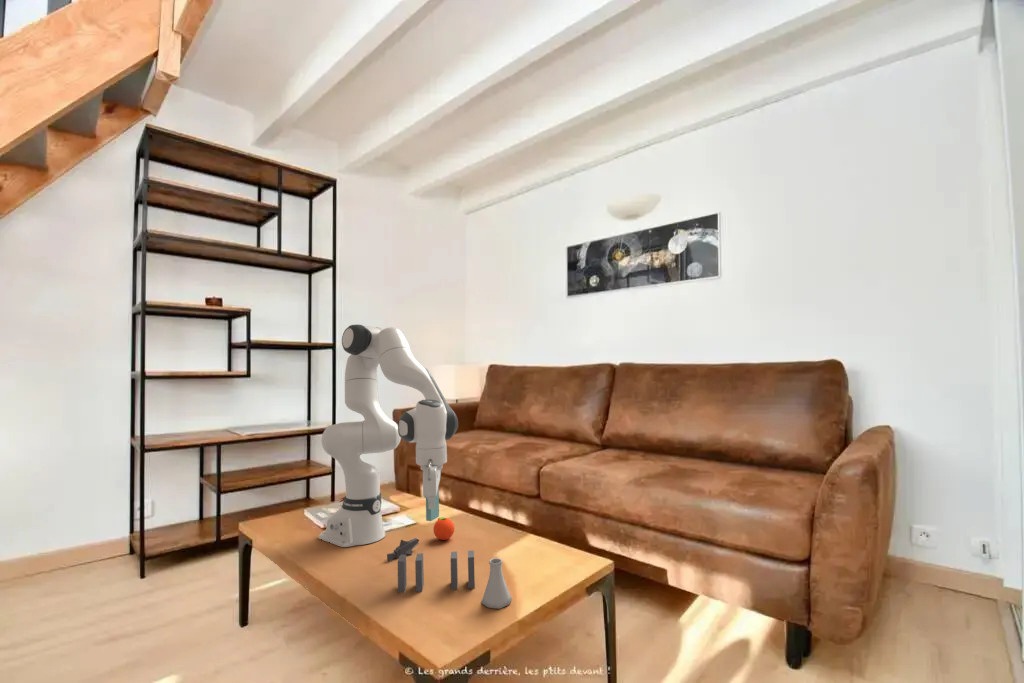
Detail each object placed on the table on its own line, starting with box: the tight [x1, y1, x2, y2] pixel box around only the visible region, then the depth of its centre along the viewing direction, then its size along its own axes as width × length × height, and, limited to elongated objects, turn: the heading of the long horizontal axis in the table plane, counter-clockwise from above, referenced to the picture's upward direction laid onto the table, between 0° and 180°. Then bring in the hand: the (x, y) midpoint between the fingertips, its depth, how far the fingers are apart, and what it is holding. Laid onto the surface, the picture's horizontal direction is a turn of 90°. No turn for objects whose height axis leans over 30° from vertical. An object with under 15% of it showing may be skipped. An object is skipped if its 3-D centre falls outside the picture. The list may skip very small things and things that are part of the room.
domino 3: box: [425, 487, 440, 522], centre depth 138 cm, size 2×4×8 cm, turn 158°
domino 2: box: [414, 552, 425, 593], centre depth 127 cm, size 2×4×8 cm, turn 5°
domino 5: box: [467, 549, 476, 590], centre depth 128 cm, size 2×4×8 cm, turn 5°
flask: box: [480, 557, 513, 609], centre depth 119 cm, size 7×7×10 cm
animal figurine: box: [386, 537, 420, 562], centre depth 148 cm, size 12×4×5 cm, turn 140°
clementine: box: [433, 516, 456, 541], centre depth 160 cm, size 8×7×7 cm
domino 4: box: [450, 551, 459, 591], centre depth 127 cm, size 2×4×8 cm, turn 5°
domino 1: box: [397, 554, 408, 594], centre depth 126 cm, size 2×4×8 cm, turn 5°
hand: (432, 505), depth 138 cm, fingers closed on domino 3, 5 cm apart
